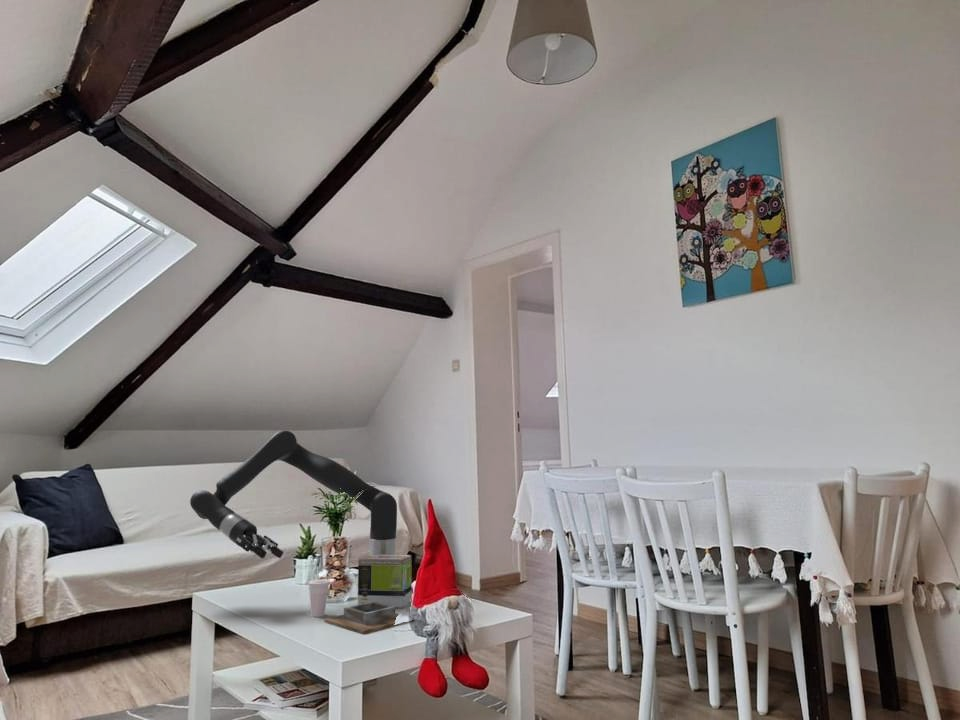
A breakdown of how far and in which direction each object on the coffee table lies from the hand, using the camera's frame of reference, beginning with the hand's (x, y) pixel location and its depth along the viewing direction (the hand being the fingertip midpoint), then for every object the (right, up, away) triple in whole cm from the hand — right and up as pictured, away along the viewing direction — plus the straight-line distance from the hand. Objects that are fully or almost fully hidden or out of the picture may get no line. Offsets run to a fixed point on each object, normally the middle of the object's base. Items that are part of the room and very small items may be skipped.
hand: (273, 555), depth 191 cm
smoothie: (+16, -15, -8) cm, 24 cm away
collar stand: (+33, -14, -15) cm, 39 cm away
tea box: (+34, -17, +5) cm, 38 cm away
